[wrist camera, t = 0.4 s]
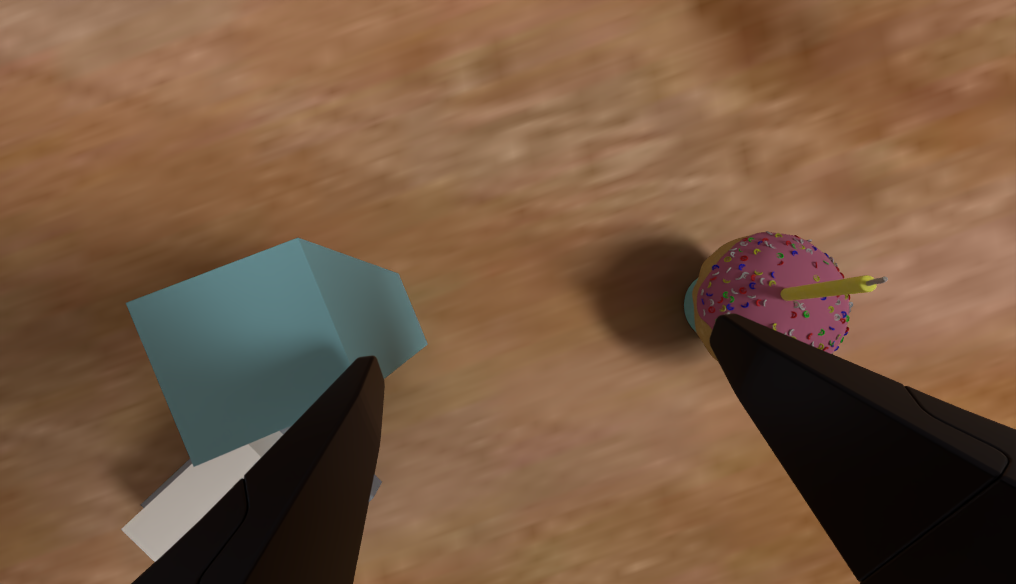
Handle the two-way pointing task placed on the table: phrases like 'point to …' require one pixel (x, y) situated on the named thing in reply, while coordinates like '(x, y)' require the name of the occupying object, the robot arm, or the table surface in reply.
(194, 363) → the teal pillar
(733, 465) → the table surface
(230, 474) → the tower top slab
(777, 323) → the cupcake
